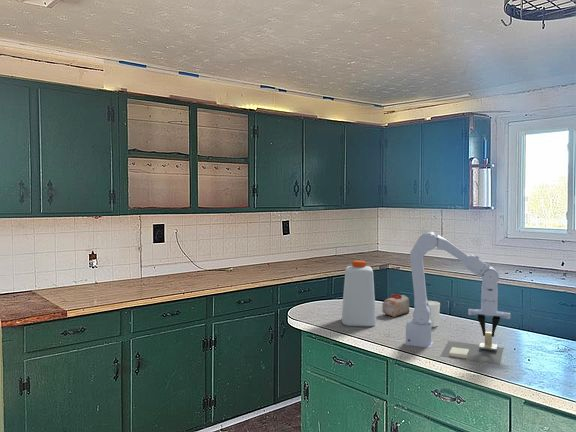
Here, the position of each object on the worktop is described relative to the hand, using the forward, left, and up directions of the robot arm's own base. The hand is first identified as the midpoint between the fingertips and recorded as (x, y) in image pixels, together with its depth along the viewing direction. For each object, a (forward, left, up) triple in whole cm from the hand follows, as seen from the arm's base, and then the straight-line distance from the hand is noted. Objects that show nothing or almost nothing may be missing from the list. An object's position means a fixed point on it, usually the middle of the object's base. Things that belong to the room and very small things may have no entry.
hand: (488, 335), depth 190 cm
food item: (-44, +39, -6) cm, 59 cm away
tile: (-9, -7, -5) cm, 12 cm away
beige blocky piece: (0, 0, -4) cm, 4 cm away
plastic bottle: (-56, +17, -6) cm, 59 cm away
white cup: (-26, +27, -6) cm, 38 cm away
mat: (-5, -5, -6) cm, 9 cm away
